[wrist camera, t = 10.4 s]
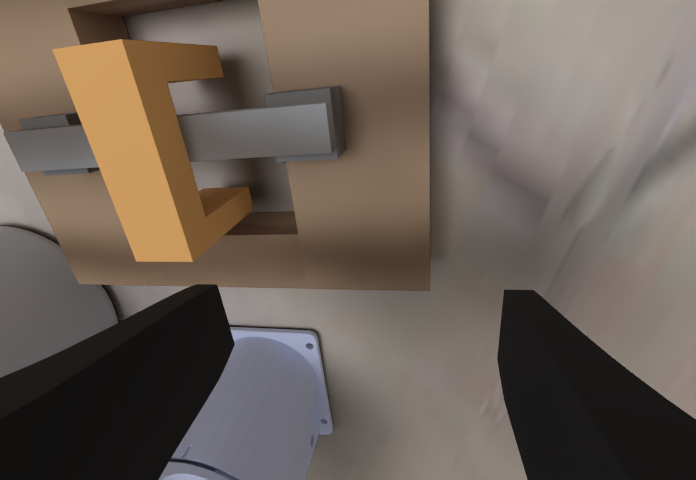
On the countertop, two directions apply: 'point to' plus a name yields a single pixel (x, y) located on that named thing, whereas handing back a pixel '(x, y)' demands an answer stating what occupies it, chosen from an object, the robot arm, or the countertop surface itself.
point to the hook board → (325, 193)
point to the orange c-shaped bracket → (149, 144)
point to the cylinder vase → (43, 301)
